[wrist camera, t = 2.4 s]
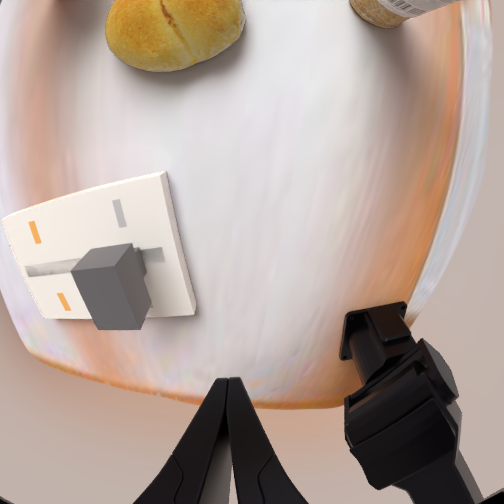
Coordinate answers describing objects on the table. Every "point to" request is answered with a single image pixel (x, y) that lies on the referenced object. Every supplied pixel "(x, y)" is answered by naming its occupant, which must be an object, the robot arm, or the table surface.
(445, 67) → the table surface
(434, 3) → the sprinkles bottle
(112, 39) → the bread roll
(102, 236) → the fader panel
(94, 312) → the fader knob
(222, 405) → the robot arm
